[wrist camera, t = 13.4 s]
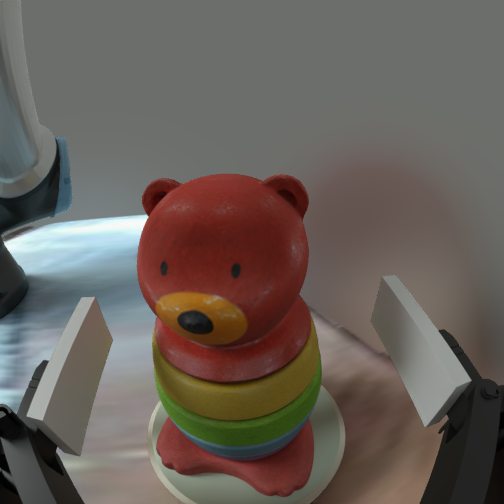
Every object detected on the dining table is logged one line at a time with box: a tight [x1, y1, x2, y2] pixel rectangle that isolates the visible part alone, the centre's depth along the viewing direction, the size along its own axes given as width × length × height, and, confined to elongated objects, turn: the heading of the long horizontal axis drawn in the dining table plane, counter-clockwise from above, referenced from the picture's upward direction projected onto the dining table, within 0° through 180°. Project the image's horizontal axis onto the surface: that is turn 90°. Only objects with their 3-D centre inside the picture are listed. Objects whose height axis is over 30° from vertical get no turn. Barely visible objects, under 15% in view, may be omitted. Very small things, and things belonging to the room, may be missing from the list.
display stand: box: [147, 385, 345, 504], centre depth 20 cm, size 15×15×3 cm
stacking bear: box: [137, 174, 322, 497], centre depth 15 cm, size 11×10×18 cm
